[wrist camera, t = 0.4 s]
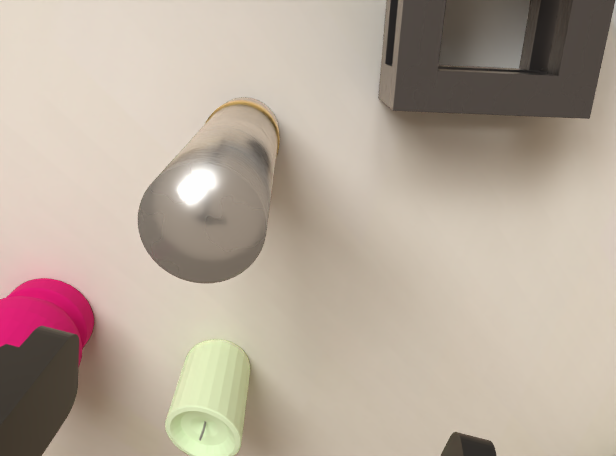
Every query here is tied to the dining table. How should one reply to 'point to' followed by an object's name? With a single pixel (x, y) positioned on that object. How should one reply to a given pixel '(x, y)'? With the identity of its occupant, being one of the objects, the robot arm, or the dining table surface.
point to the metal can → (214, 196)
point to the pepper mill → (44, 312)
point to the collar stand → (496, 81)
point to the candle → (210, 400)
